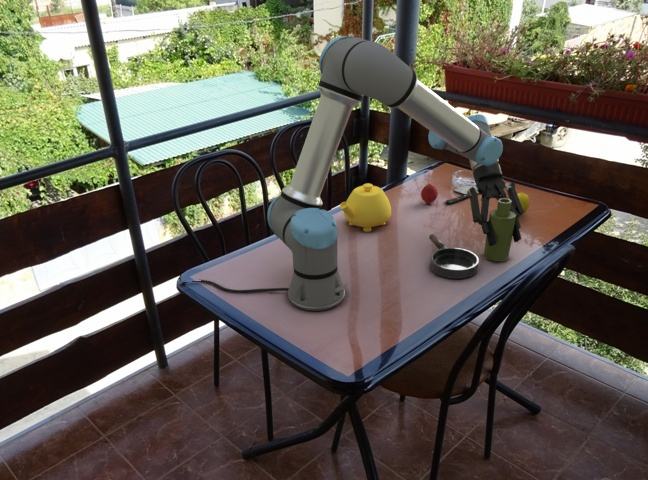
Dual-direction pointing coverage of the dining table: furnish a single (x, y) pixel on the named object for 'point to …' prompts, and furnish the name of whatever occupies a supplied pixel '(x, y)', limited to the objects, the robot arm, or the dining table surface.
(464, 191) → the cleaver
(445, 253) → the pan
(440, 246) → the pan handle
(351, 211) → the teapot
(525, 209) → the lemon
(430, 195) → the onion
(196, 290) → the dining table surface
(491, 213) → the oil bottle
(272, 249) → the dining table surface
